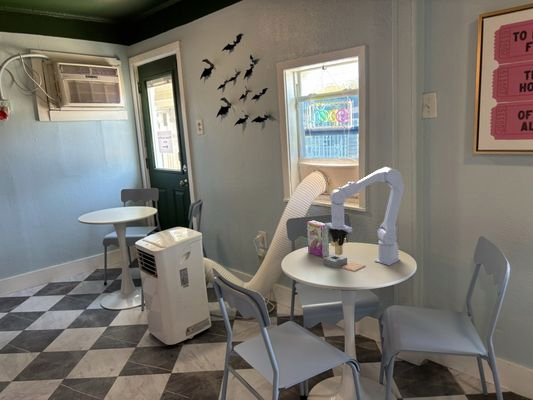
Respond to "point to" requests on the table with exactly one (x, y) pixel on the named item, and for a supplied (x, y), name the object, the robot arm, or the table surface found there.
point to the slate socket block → (335, 260)
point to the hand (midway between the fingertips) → (338, 244)
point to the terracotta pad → (353, 266)
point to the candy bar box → (318, 238)
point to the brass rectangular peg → (337, 246)
